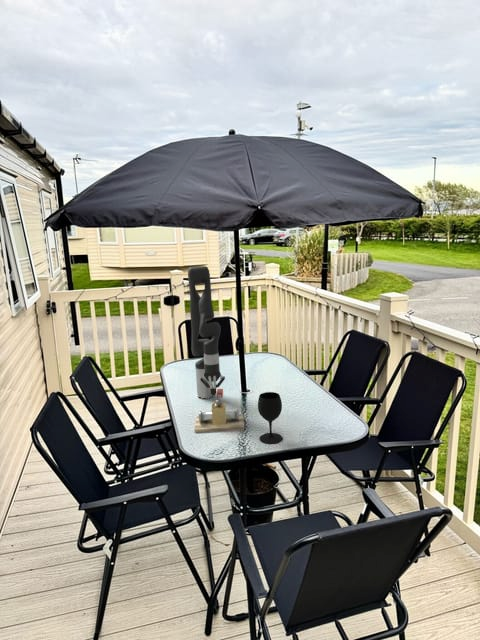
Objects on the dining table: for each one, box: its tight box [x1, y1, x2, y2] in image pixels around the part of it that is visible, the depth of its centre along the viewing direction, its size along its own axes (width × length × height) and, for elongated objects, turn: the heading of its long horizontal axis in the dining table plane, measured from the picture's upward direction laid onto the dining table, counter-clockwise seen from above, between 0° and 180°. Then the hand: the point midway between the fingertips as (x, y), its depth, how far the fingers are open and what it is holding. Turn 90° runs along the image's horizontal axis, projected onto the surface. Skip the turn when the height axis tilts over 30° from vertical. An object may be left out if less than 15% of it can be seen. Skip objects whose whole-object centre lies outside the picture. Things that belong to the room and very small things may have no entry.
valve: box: [198, 402, 240, 425], centre depth 204 cm, size 6×19×8 cm, turn 91°
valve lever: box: [214, 388, 224, 406], centre depth 210 cm, size 17×3×3 cm, turn 179°
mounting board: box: [193, 413, 245, 433], centre depth 205 cm, size 15×23×2 cm, turn 91°
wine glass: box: [257, 391, 284, 445], centre depth 186 cm, size 10×10×20 cm
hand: (213, 395), depth 215 cm, fingers closed
